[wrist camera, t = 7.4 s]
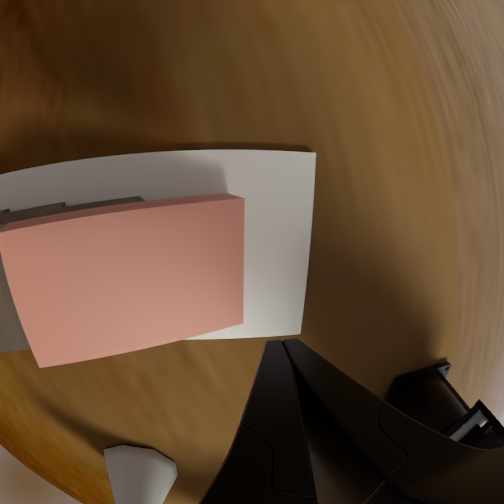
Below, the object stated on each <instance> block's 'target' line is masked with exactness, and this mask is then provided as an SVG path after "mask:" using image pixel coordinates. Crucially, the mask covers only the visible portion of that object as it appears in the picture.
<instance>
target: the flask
mask: <svg viewBox="0 0 504 504" xmlns="http://www.w3.org/2000/svg"><path fill="white" fill-rule="evenodd" d="M103 450H104V456H105V461H106V466H107V470H108V475H109V479H110V483H111V488H112V492H113V496H114V500H115V504H162V503H163V501H164V499H165V497H166V496H167V494H168V492H169V490H170V488H171V487H172V485H173V483H174V481H175V479H176V477H177V475H178V474H177V468H176V463H175V462H173V461H172V460H170V459H168V458H167V457H165V456H163V455H162V454H160V453H159V452H157V451H156V450H153V449H145V448H139V447H132V446H126V445H121V446H116V447H112V448H108V449H103Z"/></svg>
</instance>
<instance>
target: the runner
mask: <svg viewBox="0 0 504 504" xmlns="http://www.w3.org/2000/svg"><path fill="white" fill-rule="evenodd" d="M315 164H316V153H311V152H295V151H274V150H185V151H164V152H149V153H136V154H125V155H114V156H105V157H97V158H89V159H81V160H74V161H67V162H61V163H55V164H49V165H43V166H38V167H33V168H28V169H23V170H18V171H13V172H9V173H4V174H0V210H4V209H9V212H13V211H18V210H23V209H28V208H33V207H38V206H43V205H49V204H55V203H60V202H65V206H71V205H77V204H84V203H90V202H97V201H104V200H112V199H119V198H127V197H135V196H140V197H141V198H142V199H143V200H144V201H150V200H159V199H168V198H178V197H188V196H199V195H211V194H223V193H229V194H232V195H235V196H239V197H242V198H245V211H244V297H243V324H239V325H236V326H232V327H229V328H225V329H221V330H218V331H214V332H210V333H206V334H202V335H199V336H195V337H191V338H187V339H230V338H253V337H270V336H284V335H296V334H300V333H301V325H302V317H303V309H304V300H305V291H306V282H307V272H308V262H309V251H310V240H311V228H312V214H313V200H314V183H315Z"/></svg>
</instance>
